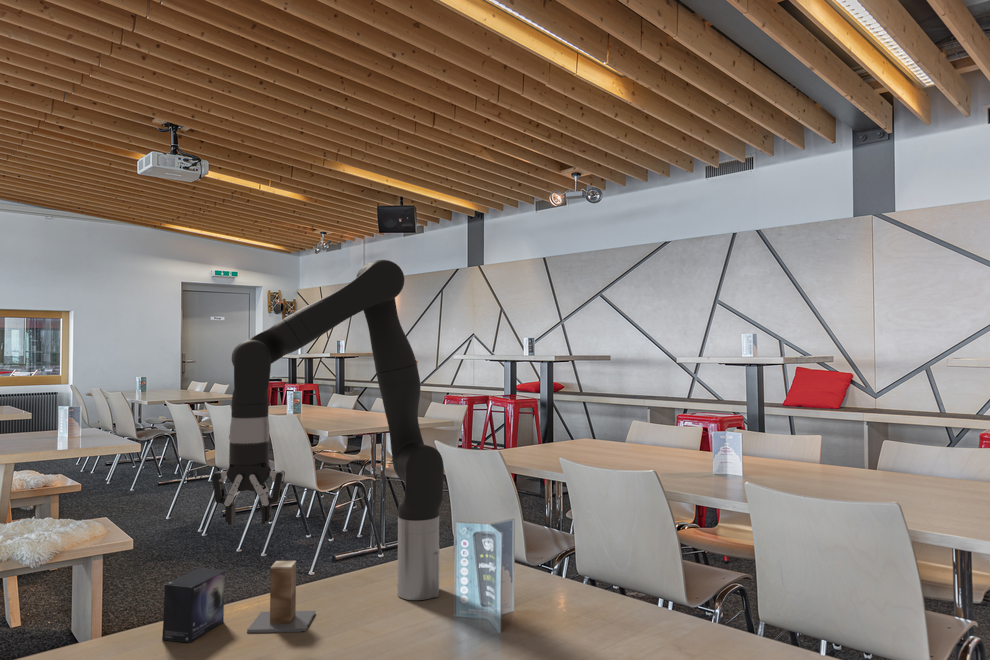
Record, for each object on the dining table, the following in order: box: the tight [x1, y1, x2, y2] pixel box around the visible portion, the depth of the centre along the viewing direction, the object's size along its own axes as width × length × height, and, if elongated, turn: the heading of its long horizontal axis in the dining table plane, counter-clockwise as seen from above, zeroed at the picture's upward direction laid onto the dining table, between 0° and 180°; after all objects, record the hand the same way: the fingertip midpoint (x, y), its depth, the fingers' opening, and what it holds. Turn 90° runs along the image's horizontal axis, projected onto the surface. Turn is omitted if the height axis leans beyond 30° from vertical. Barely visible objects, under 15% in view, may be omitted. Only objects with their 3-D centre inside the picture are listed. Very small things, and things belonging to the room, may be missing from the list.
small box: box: [161, 567, 226, 644], centre depth 128 cm, size 11×6×10 cm, turn 168°
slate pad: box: [246, 610, 316, 634], centre depth 131 cm, size 11×9×1 cm
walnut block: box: [269, 560, 297, 624], centre depth 132 cm, size 4×4×11 cm
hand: (248, 523), depth 132 cm, fingers open, 6 cm apart
